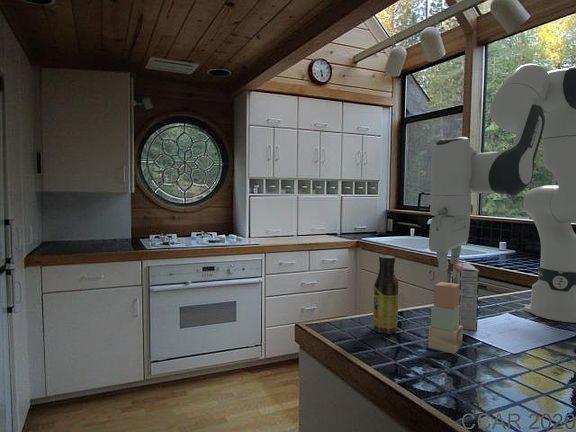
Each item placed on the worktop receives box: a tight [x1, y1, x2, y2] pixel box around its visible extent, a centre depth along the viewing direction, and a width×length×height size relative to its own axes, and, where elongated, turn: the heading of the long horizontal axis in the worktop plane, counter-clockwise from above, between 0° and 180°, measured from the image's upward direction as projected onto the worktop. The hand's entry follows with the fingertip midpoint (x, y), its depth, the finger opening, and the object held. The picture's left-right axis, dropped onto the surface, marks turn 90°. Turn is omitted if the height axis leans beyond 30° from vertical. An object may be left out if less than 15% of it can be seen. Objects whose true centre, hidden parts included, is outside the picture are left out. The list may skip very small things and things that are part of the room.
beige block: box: [427, 325, 464, 355], centre depth 101 cm, size 6×6×5 cm
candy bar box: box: [452, 262, 480, 331], centre depth 118 cm, size 11×5×16 cm, turn 168°
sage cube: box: [430, 304, 460, 332], centre depth 101 cm, size 5×5×5 cm
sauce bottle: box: [372, 254, 399, 335], centre depth 111 cm, size 7×6×20 cm
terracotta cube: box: [433, 281, 460, 309], centre depth 100 cm, size 4×4×5 cm
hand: (449, 266), depth 100 cm, fingers open, 8 cm apart
